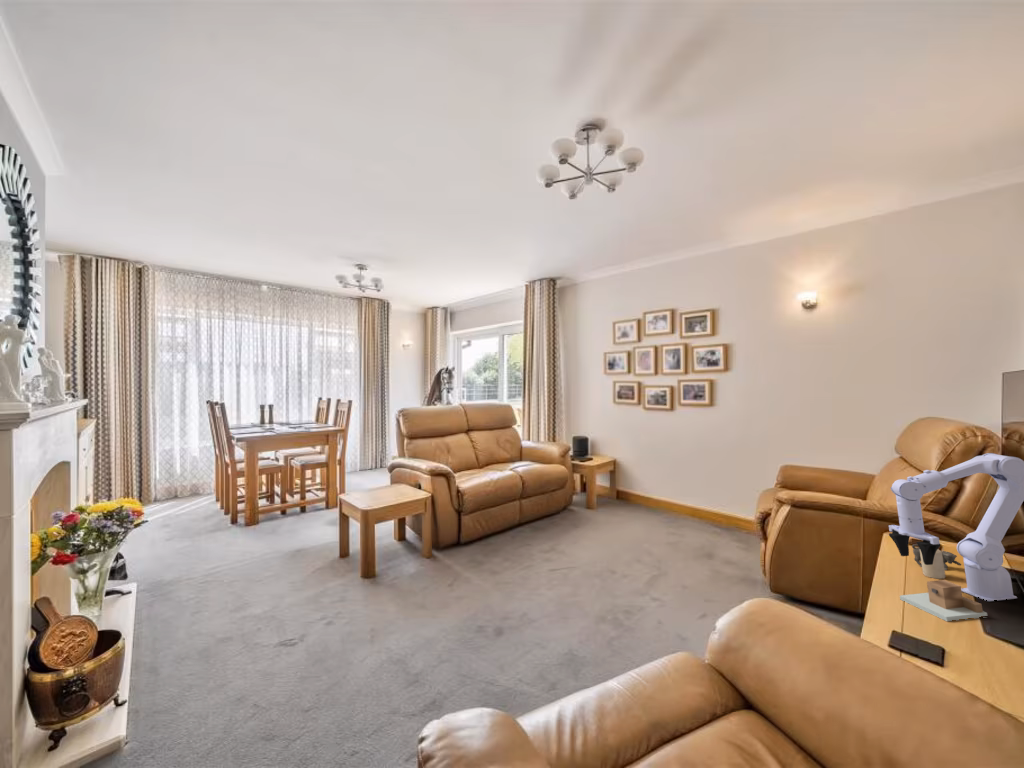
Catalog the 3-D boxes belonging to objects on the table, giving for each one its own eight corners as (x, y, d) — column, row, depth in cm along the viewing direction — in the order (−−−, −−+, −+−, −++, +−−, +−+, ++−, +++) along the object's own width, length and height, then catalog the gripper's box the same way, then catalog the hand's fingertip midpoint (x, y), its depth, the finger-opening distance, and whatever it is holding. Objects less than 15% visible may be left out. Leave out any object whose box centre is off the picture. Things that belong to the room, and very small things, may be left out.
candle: (950, 579, 140) (945, 548, 140) (931, 579, 141) (926, 549, 141) (937, 572, 145) (932, 543, 146) (918, 572, 146) (914, 543, 147)
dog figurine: (914, 566, 151) (911, 545, 152) (915, 561, 155) (912, 541, 156) (962, 573, 143) (958, 551, 143) (962, 568, 146) (958, 546, 147)
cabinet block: (947, 600, 125) (944, 579, 125) (963, 607, 120) (960, 586, 120) (927, 602, 124) (925, 581, 125) (944, 609, 120) (941, 588, 120)
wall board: (936, 595, 130) (935, 584, 130) (987, 617, 116) (985, 604, 117) (900, 599, 129) (898, 588, 130) (947, 621, 116) (945, 609, 116)
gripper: (878, 513, 142) (883, 553, 141) (921, 524, 127) (927, 569, 126) (897, 511, 142) (903, 551, 141) (943, 522, 128) (949, 567, 127)
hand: (916, 559), depth 134 cm, fingers open, 7 cm apart
